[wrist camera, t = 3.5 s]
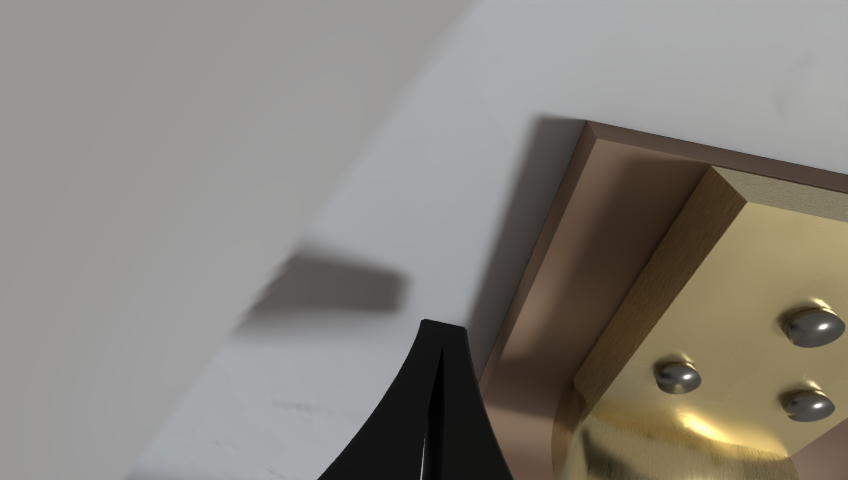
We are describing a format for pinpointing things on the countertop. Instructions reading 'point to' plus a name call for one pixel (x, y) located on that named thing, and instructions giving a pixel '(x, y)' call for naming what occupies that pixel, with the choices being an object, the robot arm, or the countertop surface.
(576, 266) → the walnut board
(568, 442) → the plate
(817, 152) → the countertop surface
